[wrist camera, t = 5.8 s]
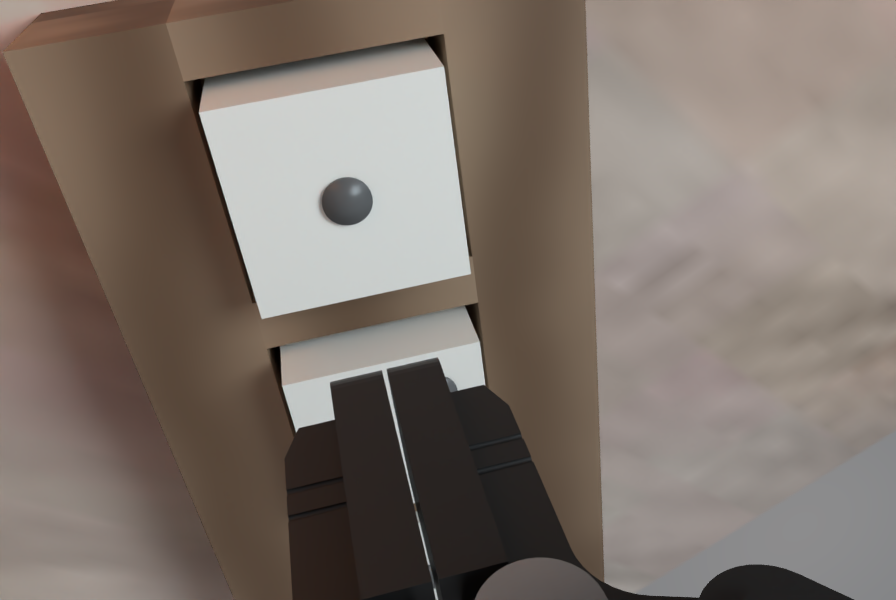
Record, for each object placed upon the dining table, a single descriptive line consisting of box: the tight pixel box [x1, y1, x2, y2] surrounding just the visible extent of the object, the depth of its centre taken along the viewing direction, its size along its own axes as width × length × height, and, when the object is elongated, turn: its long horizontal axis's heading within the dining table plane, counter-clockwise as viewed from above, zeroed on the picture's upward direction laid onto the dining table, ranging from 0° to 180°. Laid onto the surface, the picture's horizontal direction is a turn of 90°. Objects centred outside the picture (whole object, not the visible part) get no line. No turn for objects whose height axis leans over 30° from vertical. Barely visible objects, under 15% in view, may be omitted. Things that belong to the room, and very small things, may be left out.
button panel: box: [3, 0, 604, 600], centre depth 24 cm, size 12×22×4 cm, turn 8°
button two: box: [280, 305, 485, 503], centre depth 23 cm, size 5×5×3 cm
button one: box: [199, 38, 471, 319], centre depth 19 cm, size 5×5×3 cm
